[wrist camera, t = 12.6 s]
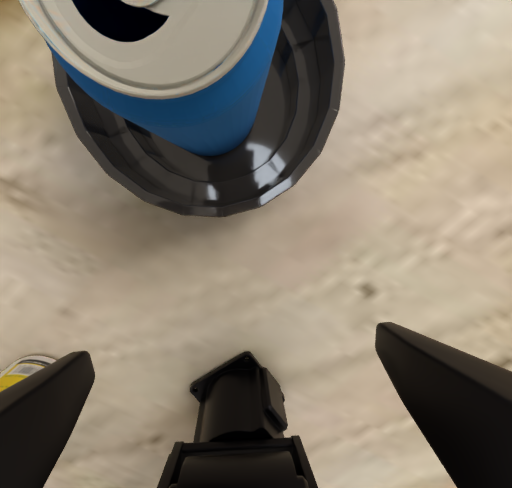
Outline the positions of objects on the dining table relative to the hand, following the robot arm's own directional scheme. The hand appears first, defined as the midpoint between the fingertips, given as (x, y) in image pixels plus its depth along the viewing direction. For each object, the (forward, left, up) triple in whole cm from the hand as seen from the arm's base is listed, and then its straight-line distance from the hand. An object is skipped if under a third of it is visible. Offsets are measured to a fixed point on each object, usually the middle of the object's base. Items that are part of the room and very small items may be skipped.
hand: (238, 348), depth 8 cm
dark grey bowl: (+4, +9, -13) cm, 16 cm away
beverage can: (+4, +9, -12) cm, 16 cm away
